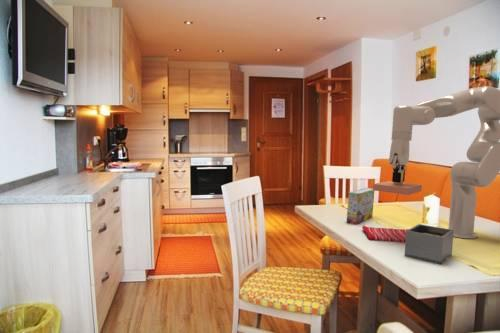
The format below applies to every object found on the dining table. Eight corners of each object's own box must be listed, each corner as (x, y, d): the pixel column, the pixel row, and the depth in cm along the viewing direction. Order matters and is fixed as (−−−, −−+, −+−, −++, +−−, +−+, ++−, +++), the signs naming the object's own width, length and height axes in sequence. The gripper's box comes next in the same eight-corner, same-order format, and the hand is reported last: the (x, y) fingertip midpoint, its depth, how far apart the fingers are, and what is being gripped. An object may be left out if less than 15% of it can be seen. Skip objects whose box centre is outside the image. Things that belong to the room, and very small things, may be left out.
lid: (387, 186, 167) (389, 167, 167) (421, 191, 158) (423, 170, 158) (372, 190, 155) (374, 169, 154) (408, 195, 146) (410, 172, 145)
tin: (417, 247, 146) (418, 224, 145) (451, 254, 138) (453, 230, 137) (404, 255, 135) (406, 230, 134) (441, 264, 127) (443, 237, 126)
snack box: (357, 225, 178) (359, 193, 177) (346, 223, 182) (347, 191, 180) (373, 217, 195) (375, 188, 194) (362, 216, 199) (364, 187, 197)
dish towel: (361, 230, 170) (361, 224, 170) (417, 234, 167) (417, 228, 167) (367, 241, 154) (367, 235, 153) (429, 245, 150) (430, 239, 150)
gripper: (399, 136, 163) (396, 179, 165) (384, 136, 151) (381, 182, 153) (417, 137, 159) (414, 181, 160) (404, 136, 146) (400, 184, 148)
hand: (398, 181), depth 156 cm, fingers closed on lid, 3 cm apart
